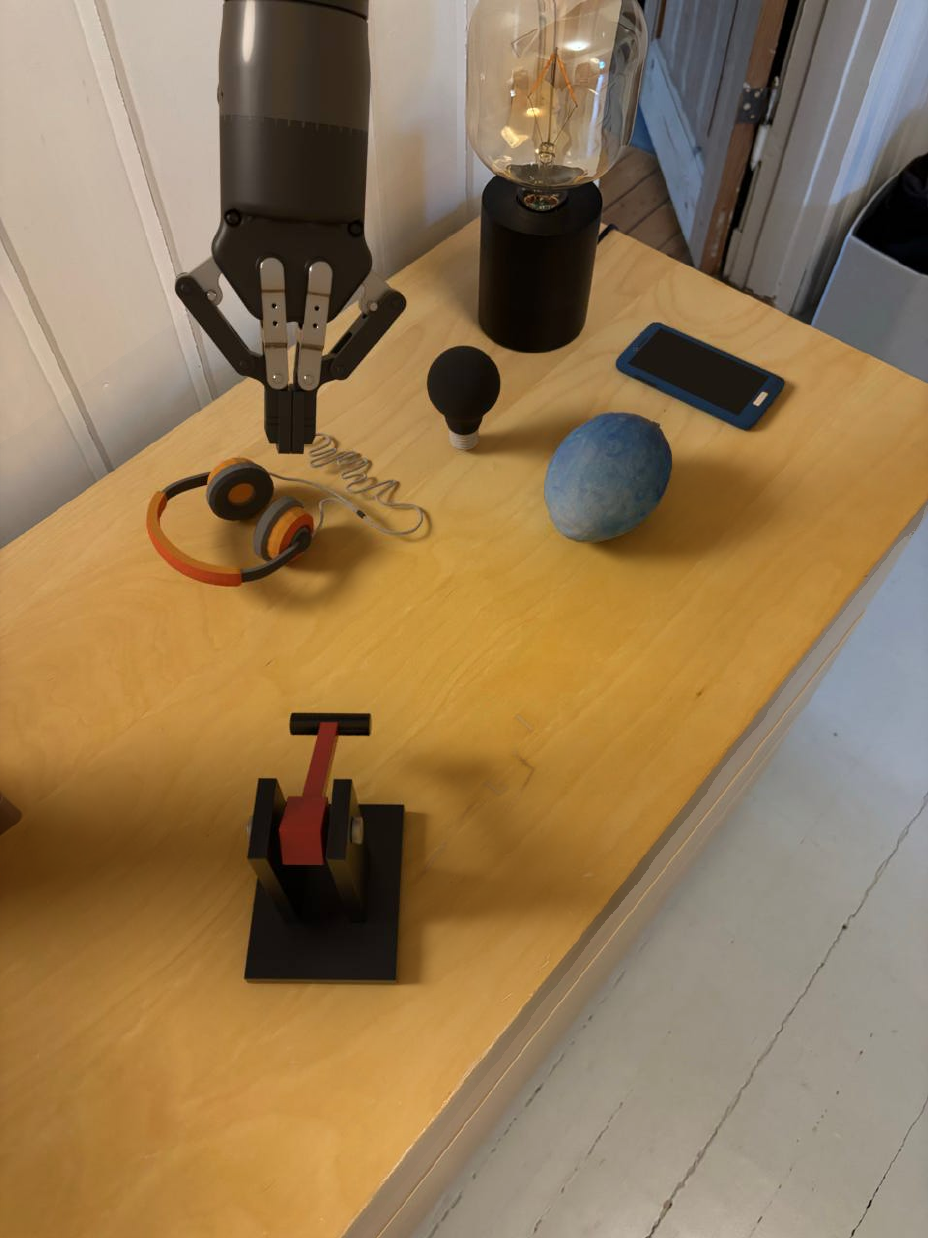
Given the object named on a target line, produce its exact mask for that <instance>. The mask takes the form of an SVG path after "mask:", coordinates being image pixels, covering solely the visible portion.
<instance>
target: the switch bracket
mask: <svg viewBox="0 0 928 1238" xmlns="http://www.w3.org/2000/svg"><path fill="white" fill-rule="evenodd" d="M331 792H332V793H331V801H330V803H329V814H330V821H329V831H328V842H327V851H326V856H325V861H324V864H323V865H284V864H283V863H282V855H281V846H280V837H279V827H280V823H281V820H282V816H283V813H284V809H285V805H286V802H287V799H286V797H285V796H284V795H285V794H284V793H283V790H282V787H281V785H280V783H279V781H278V778H276V777H259V778H258V779H257V785H256V792H255V799H254V806H253V813H252V815H251V816H249V817H248V819H247V823H246V824H247V825H246V840H247V842H248V848H247V855H246V859H247V861H248V863H249V865H250V866H251V868H252V869H253V871H254V873H255V874H256V875H255V876H257V877H256V882H255V883H256V884H255V890H254V897H253V898H254V899H253V905H252V914H251V920H250V929H249V937H248V943H247V951H246V957H245V958H246V959H245V966H244V971H243V972H244V973H243V979H244V980H245V982H246V983H248V984H294V985H295V984H297V985H298V984H299V985H300V984H305V985H312V984H313V985H385V986H386V985H387V986H388V985H389V986H390V985H391V986H392V985H394V986H397V985H398V976H399V975H398V972H399V954H400V934H401V933H400V932H401V911H402V910H401V909H402V889H403V888H402V887H403V869H404V868H403V867H404V849H405V848H404V846H405V828H406V827H405V824H406V807H405V804H401V803H400V804H397V803H393V804H392V803H390V804H389V803H359V802H358V798H357V795H356V790H355V786H354V781H353V778H333V780H332V790H331Z"/></svg>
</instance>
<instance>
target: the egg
mask: <svg viewBox="0 0 928 1238" xmlns="http://www.w3.org/2000/svg"><path fill="white" fill-rule="evenodd" d="M663 412H664V413H666V409H664V410H663ZM673 465H674V464H673V452H672V449H671V446H670V443H669V441H668V439H667V438H666V435H665V434H664V431H663V430H662V428H661V424H660V423H659V422H656V421H652V420H650V419H648V418H646V417H644V416H642V415H640V414H636V413H631V412H623V411H622V412H621V411H620V412H618V411H617V412H614V411H608V412H606V413H605V412H604V413H600V414H598V415H596V416H595V417H593V418H591V419H589V420H587V421H585V422H584V423H582V424H581V425H579V426H577V427H575V428H574V429H573V430H572V431H571V432H570V433H569V434H567V435H566V437H565V438H564V439H563V440H562V441H561V442H560V444H559V445H558V447H557V448H556V449H555V452H554V453H553V454H552V457H551V459H550V460H549V462H548V466H547V470H546V473H545V478H544V484H543V494H544V495H543V496H544V500H545V504H546V508H547V510H548V513H549V517H550V519H551V522H552V524H553V526H554V528H555V530H556V531H557V532H558V533H560V534H561V536H563V537H565V538H566V539H568V540H571V541H573V542H576V543H581V544H582V543H583V544H591V543H600V542H605V541H608V540H611V539H614V538H616V537H620V536H622V535H624V534H626V533H628V532H630V531H632V530H633V529H635V528H636V527H638V526H639V525H640V524H642V523H643V522H644V521H645V520H646V518H648V517H649V516H650V514H651V513H652V512H653V511H654V510H655V509H656V508H657V506H659V504H660V503H661V500H662V499H663V497H664V495H665V494H666V491H667V488H668V485H669V482H670V480H671V477H672V470H673Z"/></svg>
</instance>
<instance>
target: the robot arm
mask: <svg viewBox="0 0 928 1238" xmlns="http://www.w3.org/2000/svg"><path fill="white" fill-rule="evenodd" d="M222 1H223V4H222V19H221V30H220V37H219V47H218V84H217V87H216V88H217V89H216V101H217V104H218V121H219V123H218V124H219V125H218V126H219V127H218V128H219V132H218V133H219V135H218V136H219V193H220V195H219V196H220V197H219V202H220V205H219V206H220V219H219V220H220V221H219V226H218V229H217V230H216V233H215V234H214V236H213V238H212V241H211V244H210V245H211V246H210V251H211V255H210V256H208V257H207V258H206V259H204V260H203V261H202V262H200V263H199V264H198V265H197V266H195V267H194V268H193V269H191V270H189V272H187V271H185V272H184V271H183V272H180V273H178V274H177V276H176V277H175V279H174V292H175V295H176V296H177V297H178V299H179V300H180V302H181V303H182V304H183V306H185V308H186V309H187V310H188V312H189V313H190V314H191V316H192V317H193V318H194V319H195V321H196V322H197V323H198V325H199V326H200V327H201V328H202V330H203V331H204V332H205V333H206V335H207V336H208V337H209V339H210V340H211V342H212V343H213V344H214V345H215V346H216V348H217V349H218V351H219V352H220V353H221V354H222V356H223V357H224V358H225V360H226V361H227V362H228V363H229V365H230V366H231V367H232V369H234V371H235V372H236V373H237V374H238V375H240V376H242V377H248V378H251V379H253V380H256V381H258V382H259V383H261V384H262V386H263V389H264V390H263V430H264V434H265V436H266V439H267V441H268V443H269V444H271V445H272V444H273V445H275V449H276V451H277V454H278V455H304V453H305V445H313V444H314V441H315V439H316V437H317V436H316V433H317V407H318V406H317V404H318V402H317V401H318V399H317V398H318V392H319V389H320V388H321V387H322V386H323V385H325V384H327V383H330V382H334V381H346V380H348V378H349V377H350V376H351V375H352V374H353V373H354V371H355V370H356V369H357V368H358V367H359V365H360V364H361V363H362V362H363V361H364V359H365V358H366V357H367V356H368V355H369V354H370V352H371V351H372V350H373V349H374V347H376V345H377V344H378V343H379V341H380V340H381V339H382V338H383V337H384V335H385V334H386V333H387V332H388V331H389V330H390V329H391V327H392V326H393V325H394V324H395V322H396V321H397V320H398V319H399V318H400V316H401V315H402V313H403V312H404V311H405V310H406V308H407V304H408V303H407V298H406V297H405V295H404V294H403V293H402V292H401V291H400V290H397V289H395V288H393V287H391V285H390V284H388V283H387V282H386V280H384V279H383V278H382V277H381V276H380V275H379V274H377V272H376V271H375V270H373V256H372V255H373V254H372V252H371V249H370V248H369V246H368V243H367V238H366V233H365V223H366V222H365V220H366V202H367V201H366V200H367V199H366V197H367V178H368V176H367V175H368V154H369V132H370V112H371V111H370V110H371V85H372V83H371V82H372V81H371V79H372V77H371V76H372V75H371V74H372V73H371V70H372V69H371V56H370V43H369V42H370V41H369V23H368V20H369V19H370V18H369V15H370V14H369V13H370V0H222ZM221 275H222V276H223V277H224V278H225V280H226V281H227V282H228V285H230V287H231V289H232V290H233V291H234V293H235V294H236V295H237V297H238V298H239V300H240V301H241V303H242V304H243V306H244V307H245V308H246V310H247V312H248V313H249V314H250V315H251V316H253V318H255V319H256V320H258V321H259V335H260V339H261V340H260V341H261V353H258V352H256V351H253V350H251V349H250V348H249V347H248V344H246V343H245V341H244V340H243V338H242V337H241V336H240V335H239V333H238V332H237V330H236V329H235V328H234V327H233V326H232V324H231V322H230V321H229V320H228V319H227V318H226V316H225V315H224V313H223V312H222V311H221V309H220V308H219V307H218V306H219V305H220V304H221V303H222V301H223V298H224V294H223V290H222V288H221V286H220V283H219V281H220V276H221ZM360 287H361V288H362V289H361V294H360V295H359V297H358V300H357V305H358V308H359V310H360V311H361V312H360V314H359V315H358V316H357V318H356V319H355V320H354V321H353V322H352V324H351V325H350V326H349V327H348V328H347V330H346V331H345V332H344V334H343V335H342V336H341V337H340V338H339V339H338V341H337V342H336V343H335V344H334V345H333V347H332V348H331V349H330V350H329V351H328V353H327V354H324V355H323V352H324V348H325V343H326V335H327V334H326V333H327V325H328V324H329V323H331V322H332V321H334V320H335V319H336V318H337V317H338V316H339V314H340V313H341V312H342V311H343V309H345V307H346V305H347V304H348V303H349V302H350V300H351V299H352V297H353V296H354V295H355V293H356V292H357V291H358V290H359V288H360ZM289 323H295V324H296V325H295V347H294V357H293V358H294V359H293V368H292V382H291V383H289V381H290V371H289V357H288V344H289V341H288V340H289V339H288V325H287V324H289Z"/></svg>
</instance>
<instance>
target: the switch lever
mask: <svg viewBox="0 0 928 1238" xmlns="http://www.w3.org/2000/svg"><path fill="white" fill-rule="evenodd" d="M372 718H373V717H372V714H371V712H295V711H294V712H291V713H290V716H289V725H288V728H289V733H290V735H291V736H301V737H302V736H305V737H307V736H309V737H311V736H313V737H316V739H315V740H316V741H315V743H314V747H313V750H312V755H311V759H310V763H309V767H308V770H307V774H306V778H305V782H304V786H303V790H302V793H301V795H288V796H287V799H286V805H285V809H284V813H283V816H282V820H281V823H280V827H279V837H280V846H281V855H282V863H283V864H284V865H323V864H324V861H325V856H326V851H327V842H328V831H329V821H330V814H329V804H330V802H329V796H326V795H327V790H328V786H329V781H330V778H331V773H332V768H333V764H334V759H335V754H336V751H337V746H338V741H339V738H340V737H370V736H371V735H372V728H373V719H372Z"/></svg>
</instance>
